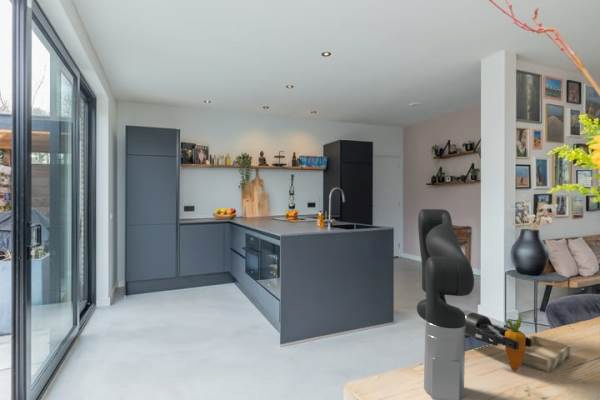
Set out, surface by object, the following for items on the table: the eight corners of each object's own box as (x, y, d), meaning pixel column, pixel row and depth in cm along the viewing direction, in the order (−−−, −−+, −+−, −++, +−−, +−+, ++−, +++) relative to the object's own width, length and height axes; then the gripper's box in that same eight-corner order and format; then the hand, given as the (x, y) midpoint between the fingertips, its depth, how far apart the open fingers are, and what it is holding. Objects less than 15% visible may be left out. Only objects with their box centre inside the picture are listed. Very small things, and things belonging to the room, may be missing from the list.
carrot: (504, 373, 97) (505, 319, 96) (503, 365, 101) (504, 313, 101) (525, 377, 94) (527, 322, 94) (524, 369, 99) (525, 316, 99)
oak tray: (549, 373, 97) (549, 361, 97) (510, 360, 104) (510, 348, 104) (570, 357, 107) (570, 345, 107) (533, 346, 115) (533, 335, 115)
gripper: (455, 314, 108) (507, 334, 92) (486, 309, 114) (541, 327, 98) (454, 339, 108) (507, 363, 92) (486, 332, 114) (540, 354, 98)
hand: (524, 344), depth 95 cm, fingers closed on carrot, 5 cm apart
